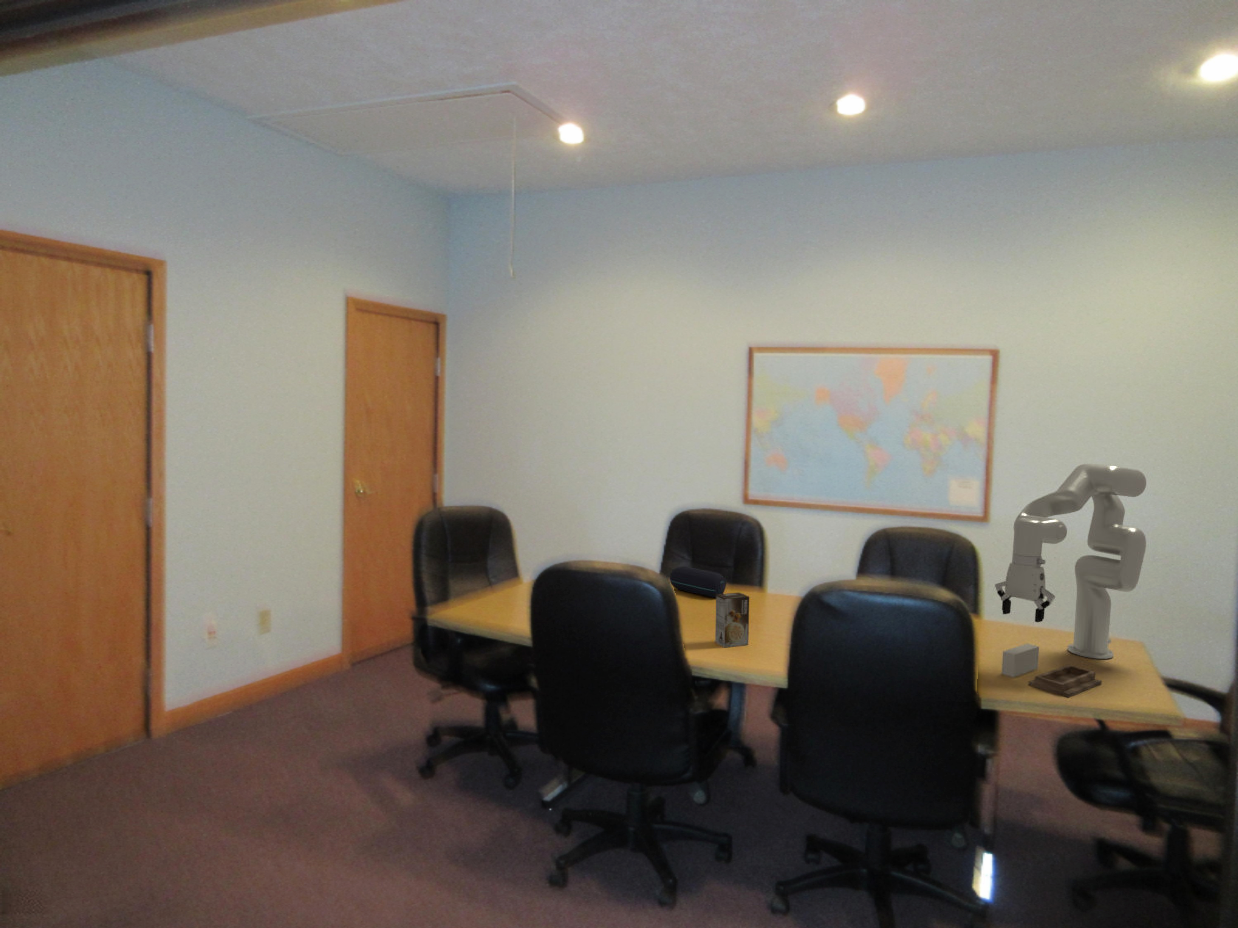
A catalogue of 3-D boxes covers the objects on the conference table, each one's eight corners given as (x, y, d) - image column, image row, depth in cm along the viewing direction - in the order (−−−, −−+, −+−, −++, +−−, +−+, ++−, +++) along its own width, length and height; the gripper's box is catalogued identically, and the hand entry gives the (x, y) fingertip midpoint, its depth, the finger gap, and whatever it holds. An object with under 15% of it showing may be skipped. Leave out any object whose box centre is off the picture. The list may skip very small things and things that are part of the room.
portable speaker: (730, 597, 315) (730, 572, 314) (714, 601, 308) (715, 576, 307) (682, 586, 333) (683, 563, 332) (667, 589, 326) (667, 566, 325)
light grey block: (1026, 665, 238) (1027, 643, 237) (1037, 669, 235) (1039, 646, 235) (1001, 674, 230) (1003, 651, 229) (1013, 677, 227) (1014, 654, 227)
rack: (1061, 672, 232) (1062, 662, 232) (1101, 684, 223) (1102, 673, 223) (1028, 684, 221) (1028, 674, 221) (1068, 697, 212) (1069, 686, 212)
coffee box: (738, 639, 259) (740, 591, 257) (748, 645, 253) (750, 596, 252) (714, 642, 255) (715, 593, 254) (724, 647, 249) (725, 598, 248)
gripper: (1063, 564, 225) (1058, 623, 226) (1004, 554, 239) (1000, 609, 240) (1049, 567, 221) (1045, 626, 222) (991, 556, 235) (987, 612, 236)
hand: (1022, 617), depth 231 cm, fingers open, 9 cm apart
